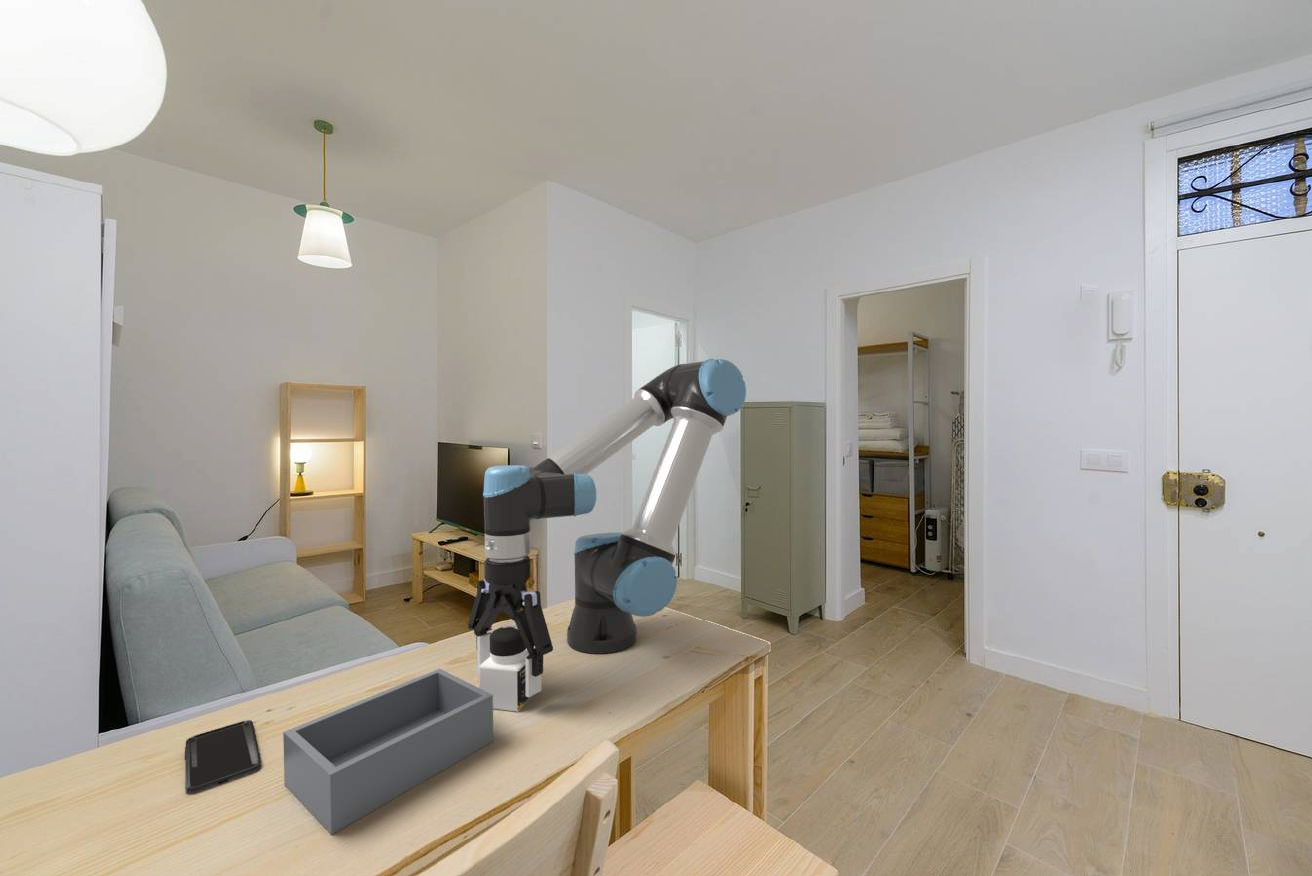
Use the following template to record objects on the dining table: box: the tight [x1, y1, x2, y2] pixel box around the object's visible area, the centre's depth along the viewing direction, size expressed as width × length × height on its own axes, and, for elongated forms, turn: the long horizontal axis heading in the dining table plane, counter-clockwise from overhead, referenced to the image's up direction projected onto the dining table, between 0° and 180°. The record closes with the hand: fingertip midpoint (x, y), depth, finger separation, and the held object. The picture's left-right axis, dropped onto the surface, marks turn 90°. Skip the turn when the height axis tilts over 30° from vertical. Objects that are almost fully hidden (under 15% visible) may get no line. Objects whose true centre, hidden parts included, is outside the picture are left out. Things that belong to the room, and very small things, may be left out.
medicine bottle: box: [478, 625, 531, 712], centre depth 90 cm, size 7×7×12 cm
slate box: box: [282, 668, 494, 836], centre depth 73 cm, size 22×14×7 cm, turn 143°
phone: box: [184, 719, 262, 795], centre depth 74 cm, size 8×1×15 cm
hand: (508, 681), depth 90 cm, fingers open, 12 cm apart
